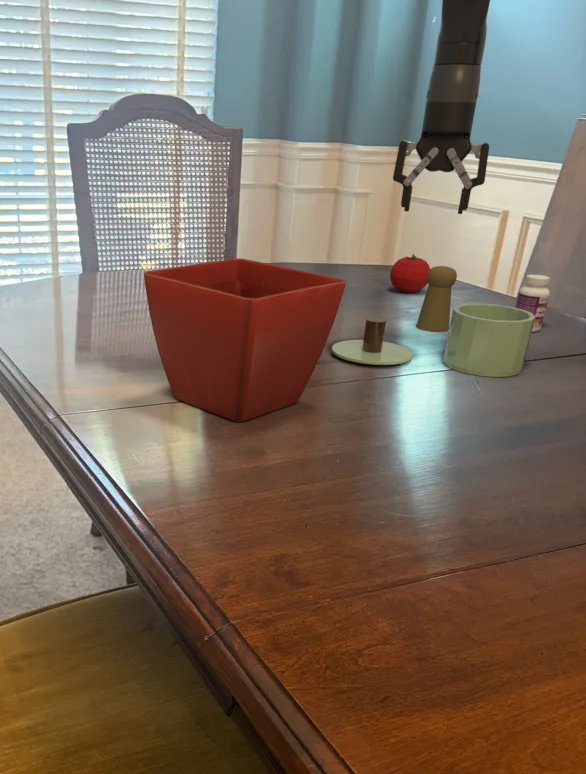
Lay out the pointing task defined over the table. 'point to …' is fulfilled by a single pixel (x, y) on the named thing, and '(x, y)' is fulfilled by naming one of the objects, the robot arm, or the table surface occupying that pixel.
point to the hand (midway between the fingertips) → (432, 212)
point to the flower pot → (240, 332)
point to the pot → (488, 339)
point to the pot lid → (372, 347)
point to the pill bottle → (534, 298)
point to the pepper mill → (437, 300)
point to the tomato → (409, 274)
